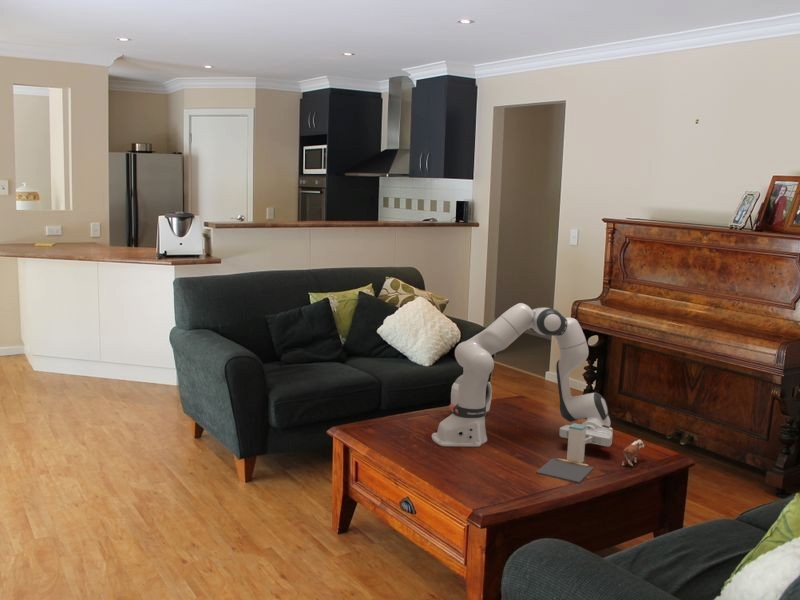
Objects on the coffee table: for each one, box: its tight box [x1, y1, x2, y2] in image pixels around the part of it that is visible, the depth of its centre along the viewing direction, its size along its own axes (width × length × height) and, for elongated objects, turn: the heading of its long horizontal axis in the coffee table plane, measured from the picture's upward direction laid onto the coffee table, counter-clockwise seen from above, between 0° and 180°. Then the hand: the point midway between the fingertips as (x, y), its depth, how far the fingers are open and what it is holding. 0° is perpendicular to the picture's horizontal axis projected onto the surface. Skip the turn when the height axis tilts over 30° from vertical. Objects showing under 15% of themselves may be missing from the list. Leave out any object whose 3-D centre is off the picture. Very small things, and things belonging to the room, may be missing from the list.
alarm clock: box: [450, 373, 493, 413], centre depth 342 cm, size 18×8×20 cm, turn 119°
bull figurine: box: [621, 439, 645, 467], centre depth 292 cm, size 4×13×8 cm, turn 137°
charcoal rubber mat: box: [535, 458, 595, 484], centre depth 282 cm, size 16×17×1 cm
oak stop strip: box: [555, 457, 589, 467], centre depth 289 cm, size 12×2×1 cm, turn 59°
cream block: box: [566, 422, 586, 463], centre depth 291 cm, size 5×5×14 cm
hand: (579, 440), depth 295 cm, fingers closed
